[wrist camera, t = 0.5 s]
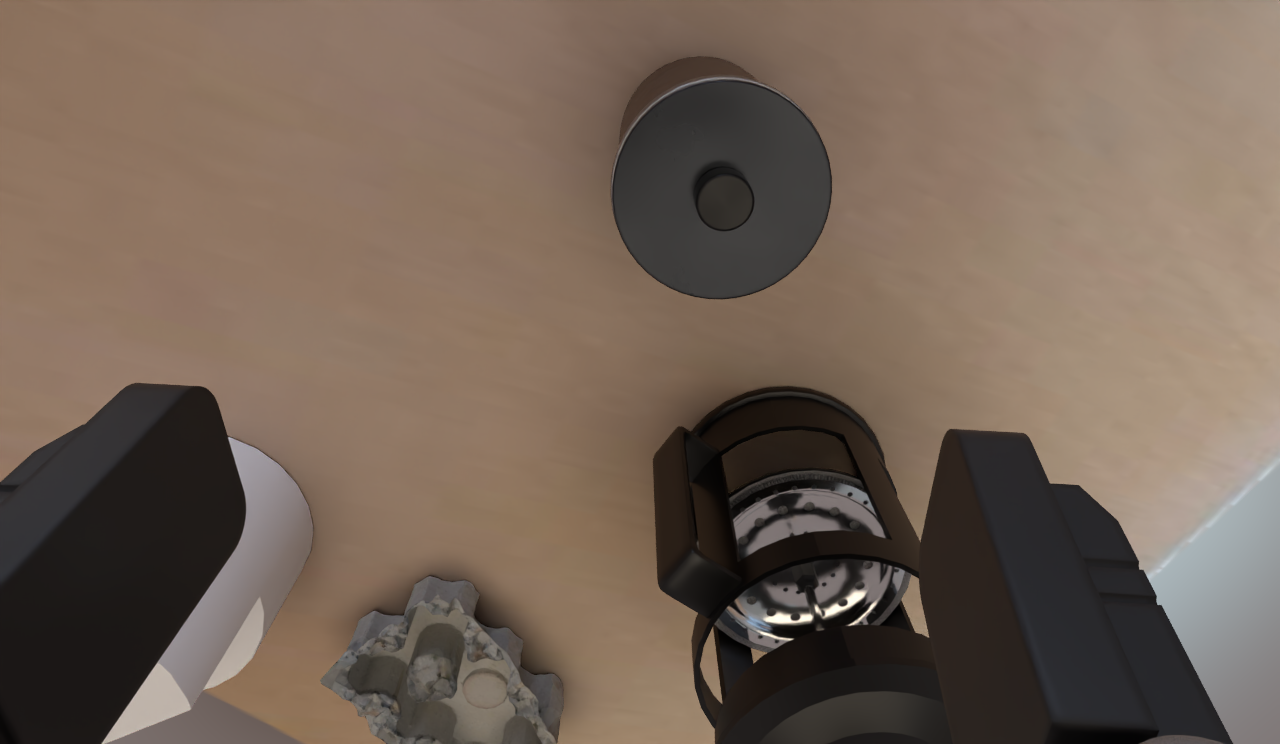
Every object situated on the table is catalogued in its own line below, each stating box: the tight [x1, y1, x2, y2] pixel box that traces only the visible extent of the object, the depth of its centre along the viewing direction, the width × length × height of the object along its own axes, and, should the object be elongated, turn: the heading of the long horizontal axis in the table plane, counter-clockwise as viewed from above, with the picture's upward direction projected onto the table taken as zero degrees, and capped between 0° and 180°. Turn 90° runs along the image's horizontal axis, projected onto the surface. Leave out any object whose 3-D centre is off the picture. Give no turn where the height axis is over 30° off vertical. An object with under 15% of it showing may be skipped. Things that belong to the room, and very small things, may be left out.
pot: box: [611, 57, 832, 299], centre depth 30 cm, size 6×6×11 cm
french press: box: [653, 387, 953, 744], centre depth 30 cm, size 12×9×23 cm
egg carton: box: [320, 576, 564, 744], centre depth 43 cm, size 11×8×4 cm
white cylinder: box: [102, 437, 313, 744], centre depth 36 cm, size 9×9×12 cm
